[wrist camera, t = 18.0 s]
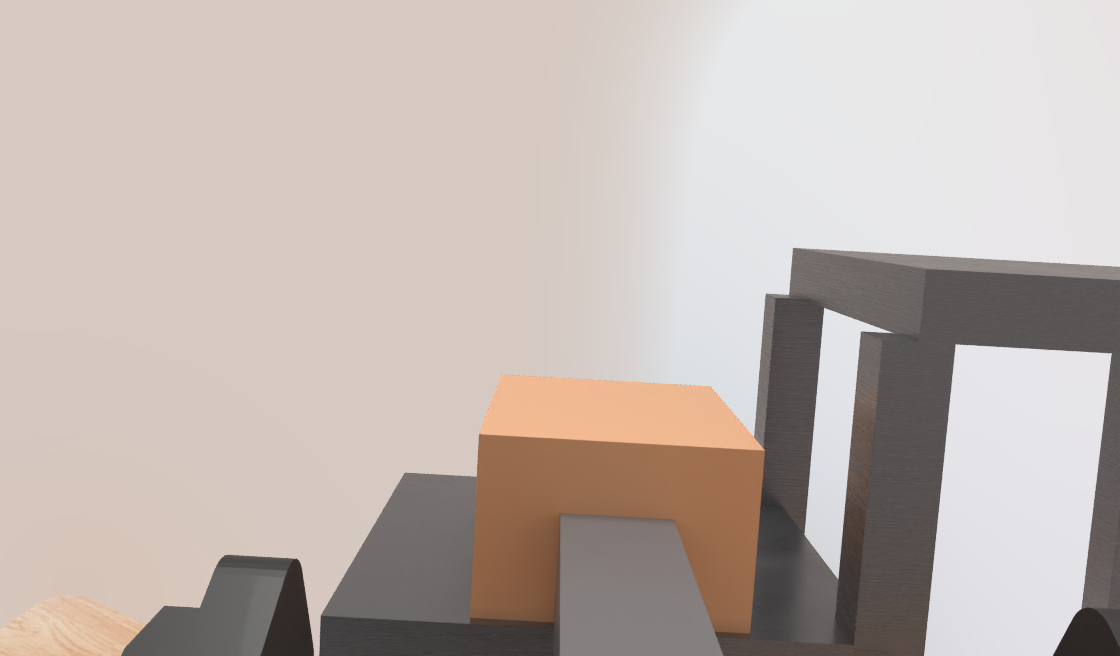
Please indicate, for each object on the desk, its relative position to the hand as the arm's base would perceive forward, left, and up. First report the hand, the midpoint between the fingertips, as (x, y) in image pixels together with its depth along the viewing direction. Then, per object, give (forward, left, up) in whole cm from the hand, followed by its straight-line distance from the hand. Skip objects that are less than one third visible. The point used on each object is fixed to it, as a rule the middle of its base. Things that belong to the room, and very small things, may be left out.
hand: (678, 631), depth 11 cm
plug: (-8, +7, -4) cm, 11 cm away
